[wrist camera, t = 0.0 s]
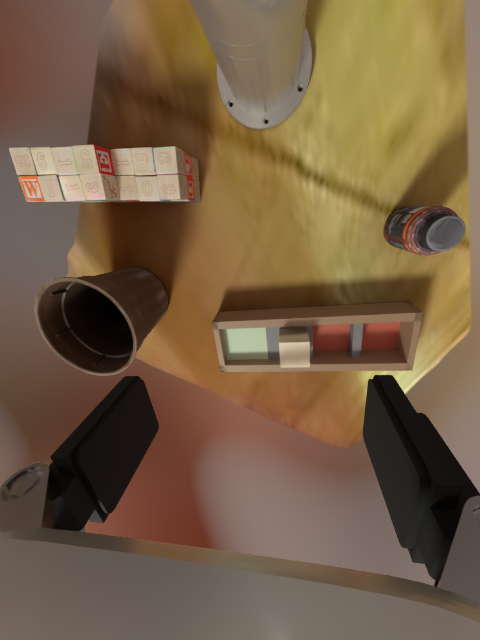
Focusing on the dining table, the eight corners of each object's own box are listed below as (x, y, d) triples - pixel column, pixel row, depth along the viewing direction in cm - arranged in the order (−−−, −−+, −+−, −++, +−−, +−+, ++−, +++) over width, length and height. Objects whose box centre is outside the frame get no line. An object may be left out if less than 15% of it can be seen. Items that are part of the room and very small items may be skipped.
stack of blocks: (198, 158, 39) (165, 140, 28) (201, 202, 42) (172, 201, 31) (78, 162, 42) (5, 146, 31) (87, 202, 45) (24, 201, 34)
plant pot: (101, 316, 55) (36, 356, 40) (105, 244, 48) (27, 261, 33) (170, 340, 55) (130, 389, 40) (184, 272, 47) (142, 301, 33)
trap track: (218, 311, 50) (211, 322, 45) (408, 301, 43) (423, 312, 39) (226, 358, 54) (221, 371, 50) (400, 354, 48) (412, 370, 43)
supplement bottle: (417, 247, 40) (464, 261, 29) (378, 246, 40) (410, 260, 30) (430, 206, 37) (485, 206, 27) (387, 206, 38) (425, 206, 28)
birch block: (279, 329, 46) (278, 342, 42) (306, 328, 45) (309, 342, 41) (280, 352, 48) (280, 367, 44) (307, 351, 47) (309, 367, 43)
